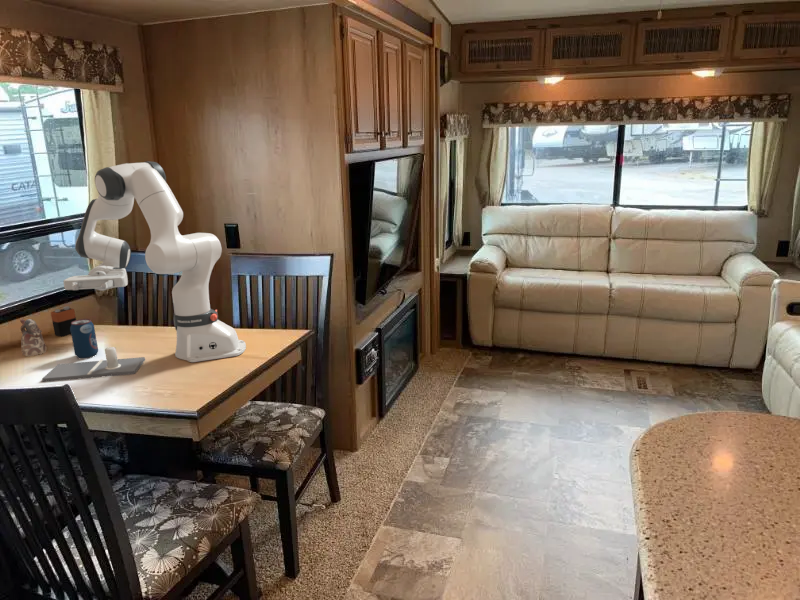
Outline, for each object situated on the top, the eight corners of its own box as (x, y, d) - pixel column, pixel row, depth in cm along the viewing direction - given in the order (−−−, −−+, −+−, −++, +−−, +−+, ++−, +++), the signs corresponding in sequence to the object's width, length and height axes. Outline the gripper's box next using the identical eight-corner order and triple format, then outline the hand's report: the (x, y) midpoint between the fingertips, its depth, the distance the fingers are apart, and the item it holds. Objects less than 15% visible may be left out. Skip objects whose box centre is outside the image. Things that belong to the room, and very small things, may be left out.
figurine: (35, 356, 196) (28, 322, 193) (17, 355, 197) (10, 321, 194) (51, 349, 202) (45, 316, 199) (34, 348, 204) (27, 315, 201)
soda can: (99, 356, 194) (93, 322, 190) (75, 361, 190) (69, 325, 187) (98, 350, 199) (92, 317, 196) (75, 354, 196) (68, 320, 193)
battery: (79, 332, 221) (74, 306, 218) (61, 337, 215) (56, 311, 213) (72, 330, 223) (67, 305, 221) (54, 335, 218) (49, 309, 215)
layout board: (145, 359, 189) (141, 339, 187) (134, 373, 178) (131, 352, 176) (58, 367, 186) (54, 346, 184) (42, 381, 174) (38, 359, 172)
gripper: (70, 271, 212) (55, 280, 199) (129, 267, 215) (118, 276, 202) (73, 287, 214) (58, 297, 201) (132, 284, 217) (121, 294, 204)
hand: (89, 287), depth 201 cm, fingers open, 8 cm apart
